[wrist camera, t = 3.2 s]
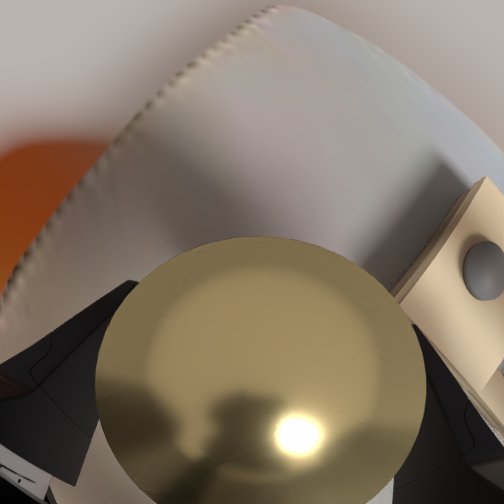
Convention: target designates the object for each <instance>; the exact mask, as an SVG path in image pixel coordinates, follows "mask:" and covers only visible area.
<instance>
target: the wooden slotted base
mask: <svg viewBox="0 0 504 504" xmlns="http://www.w3.org/2000/svg"><path fill="white" fill-rule="evenodd" d="M390 294H391V295H392V296H393V297H394V298H395V300H396V301H397V302H398V304H399V305H400V307H401V308H402V310H403V311H404V312H405V314H406V315H407V317H408V319H409V321H410V323H411V324H416V325H417V326H418V327H419V329H420V330H421V331H422V333H423V334H424V335H425V337H426V338H427V339H428V341H429V342H430V343H431V345H432V346H433V347H434V349H435V350H436V352H437V353H438V354H439V356H440V357H441V358H442V360H443V361H444V363H445V364H446V366H447V367H448V368H449V370H450V371H451V373H452V374H453V376H454V377H455V378H456V380H457V381H458V383H459V384H460V386H461V387H462V389H463V390H464V392H465V393H466V395H467V396H468V399H470V401H471V402H472V404H473V405H474V407H475V408H476V409H477V410H478V411H479V413H480V414H481V415H482V416H483V417H484V418H485V420H486V421H487V422H488V423H489V424H490V425H491V427H492V428H493V429H494V430H495V431H496V433H497V434H498V435H499V436H500V437H501V439H502V440H503V441H504V377H503V375H502V374H501V372H500V371H499V370H498V366H499V364H500V363H501V361H502V360H503V358H504V196H503V195H502V193H501V192H500V191H499V190H498V188H497V187H496V186H495V185H494V184H493V182H492V181H491V180H490V179H489V178H488V177H487V176H485V177H484V178H482V179H481V180H479V181H478V182H476V183H474V185H473V187H472V188H471V189H470V190H468V191H467V192H465V193H463V194H462V195H460V197H459V198H458V200H457V201H456V203H455V204H454V206H453V208H452V209H451V211H450V212H449V214H448V215H447V217H446V218H445V219H444V221H443V222H442V224H441V225H440V227H439V228H438V230H437V231H436V232H435V234H434V235H433V237H432V238H431V239H430V241H429V242H428V244H427V245H426V246H425V248H424V249H423V250H422V252H421V253H420V255H419V256H418V257H417V259H416V260H415V261H414V262H413V264H412V265H411V266H410V268H409V269H408V270H407V272H406V273H405V274H404V275H403V277H402V278H401V279H400V280H399V282H398V283H397V284H396V285H395V287H394V288H393V289H392V290H391V292H390Z"/></svg>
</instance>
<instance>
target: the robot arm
mask: <svg viewBox="0 0 504 504" xmlns="http://www.w3.org/2000/svg"><path fill="white" fill-rule="evenodd" d="M138 284H139V282H137V281H133V280H127V281H126V282H124V283H123V284H121V285H119V286H118V287H116V288H115V289H113V290H112V291H110V292H109V293H107V294H106V295H104V296H103V297H102V298H100V299H99V300H97V301H96V302H94V303H93V304H91V305H90V306H88V307H87V308H85V309H84V310H82V311H81V312H79V313H78V314H77V315H75V316H74V317H72V318H71V319H69V320H68V321H66V322H65V323H64V324H62V325H61V326H59V327H58V328H56V329H55V330H54V331H53V332H51V333H49V334H48V335H46V336H45V337H44V338H42V339H41V340H39V341H38V342H36V343H35V344H33V345H32V346H30V347H28V348H27V349H25V350H24V351H22V352H20V353H18V354H17V355H15V356H13V357H12V358H10V359H8V360H7V361H5V362H3V363H2V364H0V504H57V503H56V500H55V498H54V496H53V493H52V491H51V488H50V486H49V485H50V482H51V480H52V477H53V476H54V477H56V478H58V479H60V480H62V481H64V482H66V483H68V484H70V485H72V486H74V487H75V485H76V483H77V480H78V477H79V474H80V471H81V468H82V465H83V462H84V459H85V457H86V454H87V451H88V448H89V445H90V443H91V439H92V437H93V434H94V431H95V429H96V426H97V423H98V421H99V414H98V410H97V403H96V392H95V378H96V366H97V360H98V355H99V350H100V347H101V344H102V341H103V338H104V335H105V332H106V330H107V328H108V326H109V324H110V322H111V320H112V318H113V316H114V314H115V312H116V311H117V309H118V308H119V307H120V305H121V304H122V302H123V301H124V299H125V298H126V297H127V295H128V294H129V293H130V292H131V291H132V290H133V289H134V288H135V287H136V286H137V285H138ZM411 325H412V327H413V329H414V331H415V333H416V336H417V339H418V342H419V345H420V348H421V351H422V354H423V360H424V366H425V372H426V400H425V408H424V415H423V418H422V422H421V426H420V429H419V432H418V435H417V438H416V440H415V442H414V444H413V447H412V449H411V451H410V453H409V455H408V456H407V458H406V460H405V461H404V463H403V464H402V466H401V468H400V469H399V470H398V472H397V473H396V474H395V475H394V486H393V490H394V491H393V500H392V504H504V447H503V445H502V444H501V442H500V441H499V440H498V438H497V437H496V436H495V434H494V433H493V432H492V431H491V429H490V428H489V427H488V425H487V424H486V422H485V421H484V420H483V418H482V417H481V416H480V414H479V413H478V411H477V410H476V408H475V407H474V405H473V404H472V402H471V401H470V399H468V396H467V395H466V393H465V392H464V390H463V389H462V387H461V386H460V384H459V383H458V381H457V380H456V378H455V377H454V376H453V374H452V373H451V371H450V370H449V368H448V367H447V366H446V364H445V363H444V361H443V360H442V358H441V357H440V356H439V354H438V353H437V352H436V350H435V349H434V347H433V346H432V345H431V343H430V342H429V341H428V339H427V338H426V337H425V335H424V334H423V333H422V331H421V330H420V329H419V327H418V326H417V325H416V324H411Z"/></svg>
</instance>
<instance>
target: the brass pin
mask: <svg viewBox="0 0 504 504" xmlns="http://www.w3.org/2000/svg"><path fill="white" fill-rule="evenodd" d="M95 392H96V403H97V410H98V414H99V418H100V422H101V426H102V429H103V431H104V434H105V437H106V439H107V442H108V444H109V446H110V448H111V450H112V452H113V454H114V455H115V457H116V459H117V461H118V462H119V464H120V465H121V466H122V468H123V469H124V471H125V472H126V473H127V475H128V476H129V477H130V478H131V479H132V480H133V482H134V483H135V484H136V485H137V486H138V487H139V488H140V489H141V490H142V491H143V492H144V493H145V494H146V495H148V496H149V497H150V498H151V499H152V500H153V501H155V502H156V503H157V504H366V503H367V502H368V501H369V500H371V499H372V498H373V497H374V496H376V495H377V494H378V493H379V492H380V491H381V490H382V489H383V488H384V487H385V486H386V485H387V484H388V483H389V482H390V480H391V479H392V478H393V477H394V475H395V474H396V473H397V472H398V470H399V469H400V468H401V466H402V464H403V463H404V461H405V460H406V458H407V456H408V455H409V453H410V451H411V449H412V447H413V444H414V442H415V440H416V438H417V435H418V432H419V429H420V426H421V422H422V418H423V415H424V408H425V400H426V372H425V366H424V360H423V354H422V351H421V348H420V345H419V342H418V339H417V336H416V333H415V331H414V329H413V327H412V325H411V323H410V321H409V319H408V317H407V315H406V314H405V312H404V311H403V310H402V308H401V307H400V305H399V304H398V302H397V301H396V300H395V298H394V297H393V296H392V295H391V294H390V293H389V292H388V291H387V289H386V288H385V287H384V286H383V285H382V284H381V283H380V282H379V281H378V280H376V279H375V278H374V277H373V276H371V275H370V274H369V273H368V272H366V271H365V270H364V269H363V268H361V267H360V266H358V265H356V264H355V263H353V262H351V261H350V260H348V259H346V258H345V257H343V256H341V255H339V254H337V253H334V252H332V251H329V250H327V249H325V248H322V247H320V246H317V245H313V244H309V243H306V242H302V241H298V240H294V239H286V238H278V237H240V238H233V239H225V240H220V241H216V242H213V243H209V244H206V245H202V246H199V247H196V248H194V249H192V250H189V251H187V252H185V253H182V254H180V255H178V256H176V257H174V258H173V259H171V260H169V261H168V262H166V263H164V264H163V265H161V266H159V267H158V268H157V269H155V270H154V271H153V272H152V273H150V274H149V275H148V276H147V277H145V278H144V279H143V280H142V281H141V282H140V283H139V284H138V285H137V286H136V287H135V288H134V289H133V290H132V291H131V292H130V293H129V294H128V295H127V297H126V298H125V299H124V301H123V302H122V304H121V305H120V307H119V308H118V309H117V311H116V312H115V314H114V316H113V318H112V320H111V322H110V324H109V326H108V328H107V330H106V332H105V335H104V338H103V341H102V344H101V347H100V350H99V355H98V360H97V366H96V378H95Z"/></svg>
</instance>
